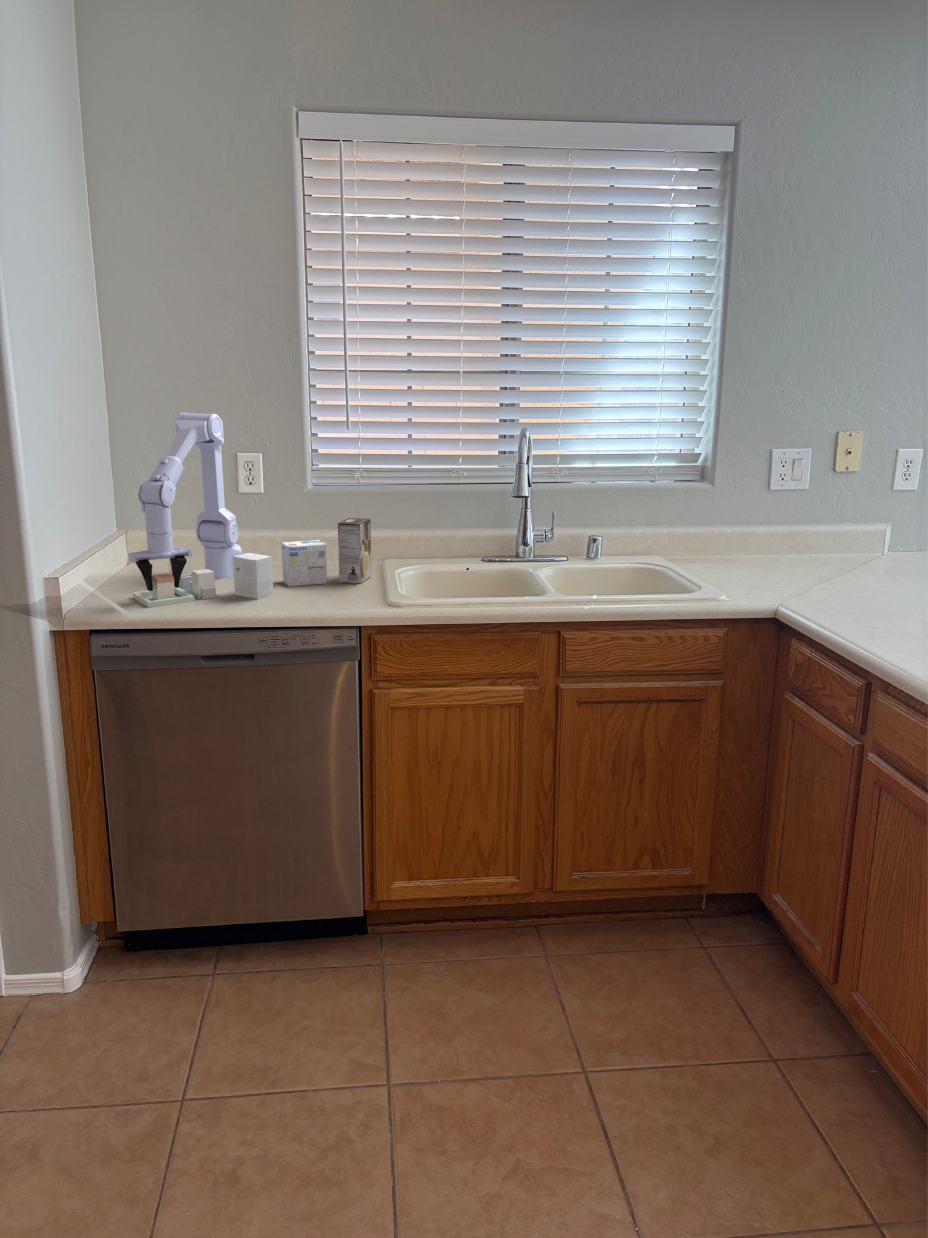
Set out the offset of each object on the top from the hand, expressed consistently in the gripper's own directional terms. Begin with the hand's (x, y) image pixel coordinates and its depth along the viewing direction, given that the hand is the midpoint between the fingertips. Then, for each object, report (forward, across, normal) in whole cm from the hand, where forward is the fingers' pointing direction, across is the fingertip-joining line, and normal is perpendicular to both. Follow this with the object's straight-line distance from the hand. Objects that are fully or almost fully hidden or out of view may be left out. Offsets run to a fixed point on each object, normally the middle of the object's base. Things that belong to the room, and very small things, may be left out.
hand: (163, 588), depth 220 cm
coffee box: (+4, +51, -3) cm, 51 cm away
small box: (+4, +20, -7) cm, 22 cm away
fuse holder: (+3, +10, +6) cm, 12 cm away
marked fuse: (+3, 0, 0) cm, 3 cm away
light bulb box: (+4, +38, +1) cm, 38 cm away
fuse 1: (+3, +10, +14) cm, 18 cm away
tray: (+3, 0, 0) cm, 3 cm away
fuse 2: (+3, +10, -2) cm, 10 cm away
